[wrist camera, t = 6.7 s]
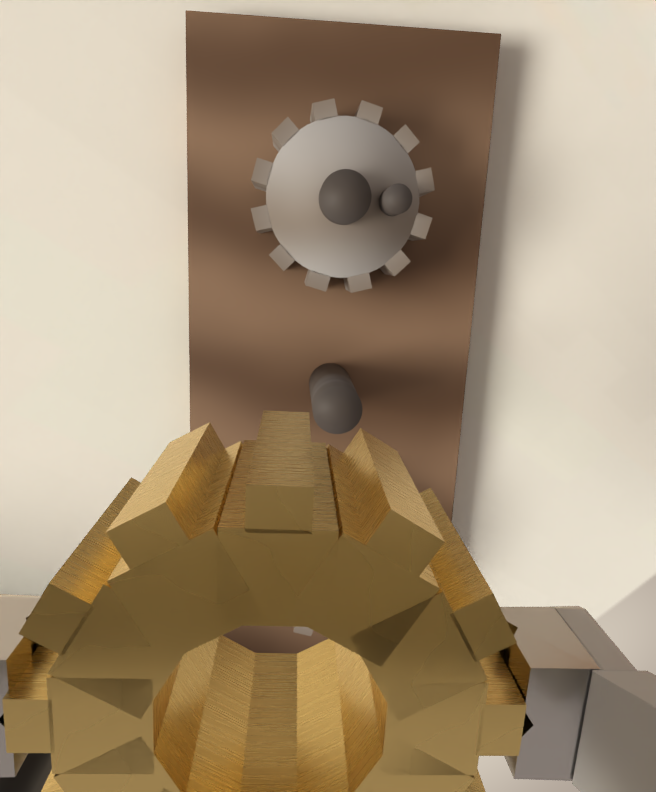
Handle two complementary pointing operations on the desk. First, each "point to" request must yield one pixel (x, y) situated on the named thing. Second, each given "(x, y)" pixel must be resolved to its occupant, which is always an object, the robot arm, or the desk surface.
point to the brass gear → (268, 606)
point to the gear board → (334, 324)
